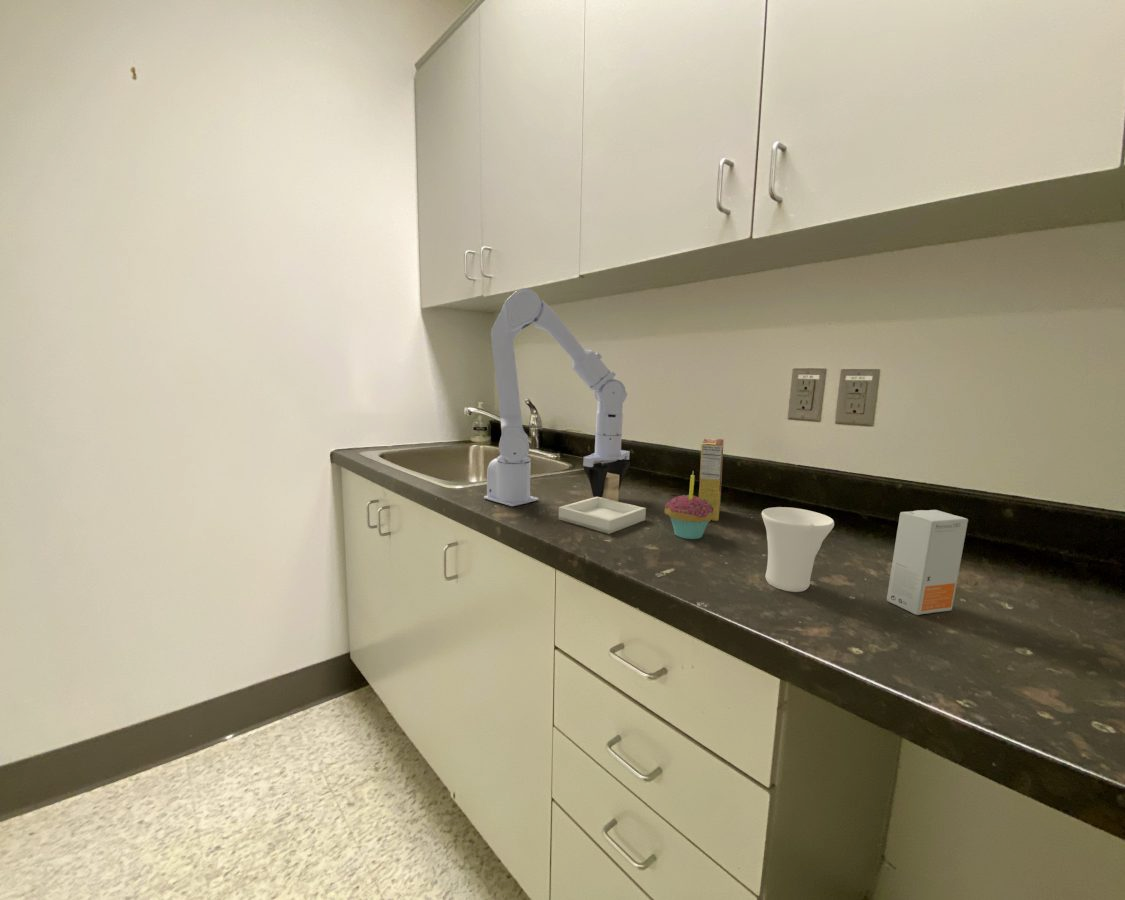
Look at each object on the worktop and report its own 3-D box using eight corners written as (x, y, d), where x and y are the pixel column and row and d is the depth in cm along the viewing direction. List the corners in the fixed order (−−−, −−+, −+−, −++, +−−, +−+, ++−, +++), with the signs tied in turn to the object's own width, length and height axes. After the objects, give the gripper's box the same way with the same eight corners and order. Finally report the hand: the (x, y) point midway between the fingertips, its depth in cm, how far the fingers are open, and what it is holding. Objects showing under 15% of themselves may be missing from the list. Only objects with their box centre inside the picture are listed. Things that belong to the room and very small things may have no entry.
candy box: (699, 507, 104) (704, 437, 102) (720, 510, 103) (725, 439, 100) (695, 519, 96) (701, 443, 93) (718, 521, 94) (724, 444, 92)
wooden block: (593, 500, 107) (594, 474, 106) (603, 497, 110) (604, 472, 109) (607, 504, 105) (608, 477, 104) (618, 501, 108) (619, 474, 107)
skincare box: (917, 617, 58) (932, 521, 56) (885, 601, 62) (898, 511, 60) (954, 611, 60) (970, 518, 58) (920, 596, 64) (934, 508, 62)
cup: (765, 596, 62) (772, 522, 61) (748, 568, 71) (754, 503, 70) (838, 602, 61) (848, 527, 60) (811, 573, 70) (819, 507, 69)
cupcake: (715, 544, 81) (721, 475, 79) (664, 540, 82) (668, 472, 81) (708, 529, 90) (713, 465, 88) (662, 525, 91) (666, 463, 89)
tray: (558, 519, 93) (558, 507, 93) (596, 507, 102) (596, 496, 101) (608, 534, 85) (609, 520, 85) (645, 520, 94) (645, 508, 94)
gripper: (603, 438, 97) (600, 504, 99) (642, 433, 108) (638, 492, 110) (576, 435, 102) (574, 497, 104) (616, 430, 113) (613, 487, 115)
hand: (605, 494), depth 107 cm, fingers open, 6 cm apart
